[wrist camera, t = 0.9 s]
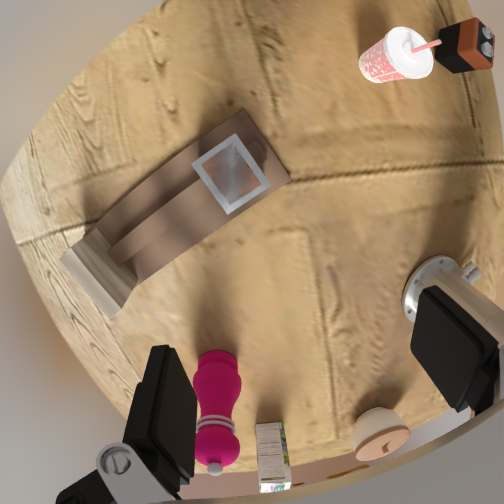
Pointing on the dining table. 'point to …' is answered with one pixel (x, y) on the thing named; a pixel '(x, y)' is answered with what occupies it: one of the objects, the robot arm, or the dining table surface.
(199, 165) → the block
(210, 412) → the pepper mill
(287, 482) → the syrup box
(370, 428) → the lidded bowl
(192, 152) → the rail
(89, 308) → the dining table surface
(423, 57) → the beverage cup
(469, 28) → the battery
